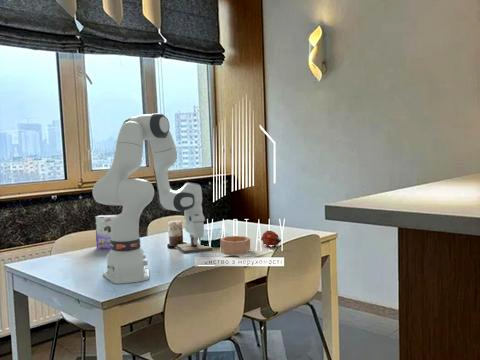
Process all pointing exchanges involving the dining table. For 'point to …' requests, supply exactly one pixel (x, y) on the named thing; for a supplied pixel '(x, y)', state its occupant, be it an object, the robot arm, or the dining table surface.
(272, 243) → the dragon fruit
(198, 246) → the lid
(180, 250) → the mat
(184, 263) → the dining table surface
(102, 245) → the candy box
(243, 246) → the bowl
